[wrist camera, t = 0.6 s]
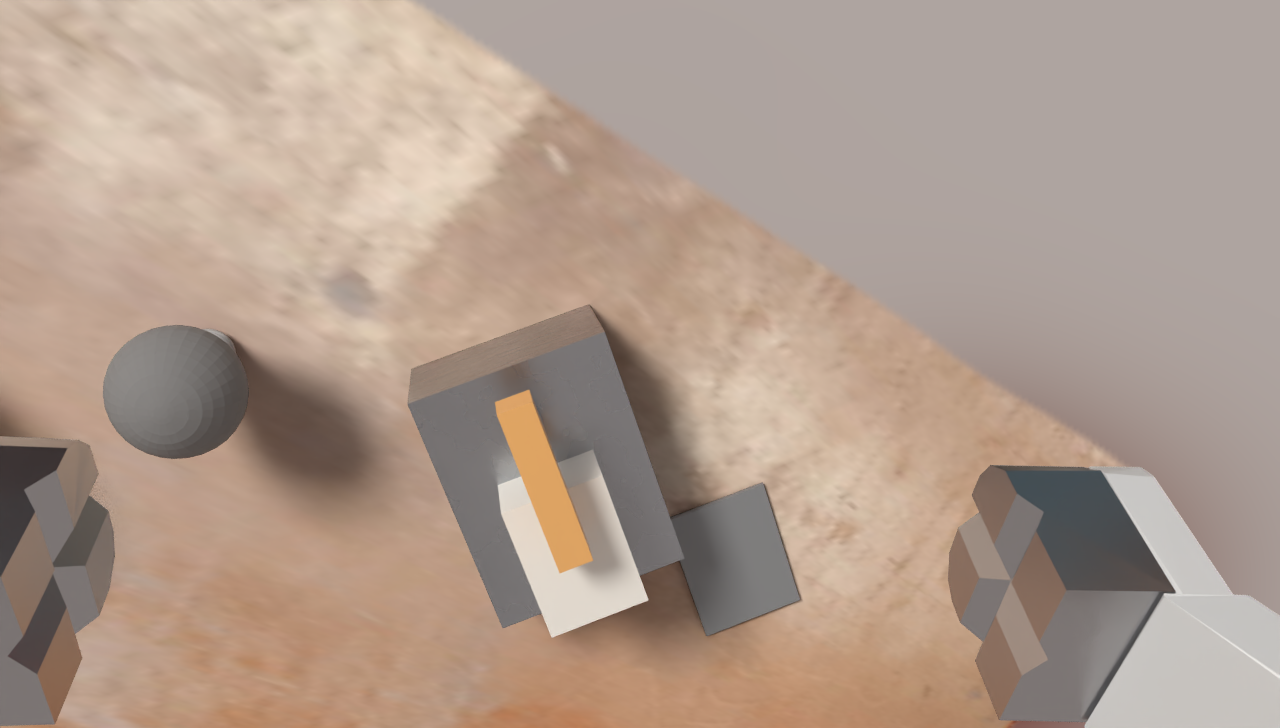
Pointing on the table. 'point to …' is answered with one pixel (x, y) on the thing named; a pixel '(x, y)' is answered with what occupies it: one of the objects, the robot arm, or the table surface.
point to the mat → (734, 559)
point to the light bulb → (176, 391)
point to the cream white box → (612, 569)
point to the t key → (543, 480)
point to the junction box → (574, 423)
